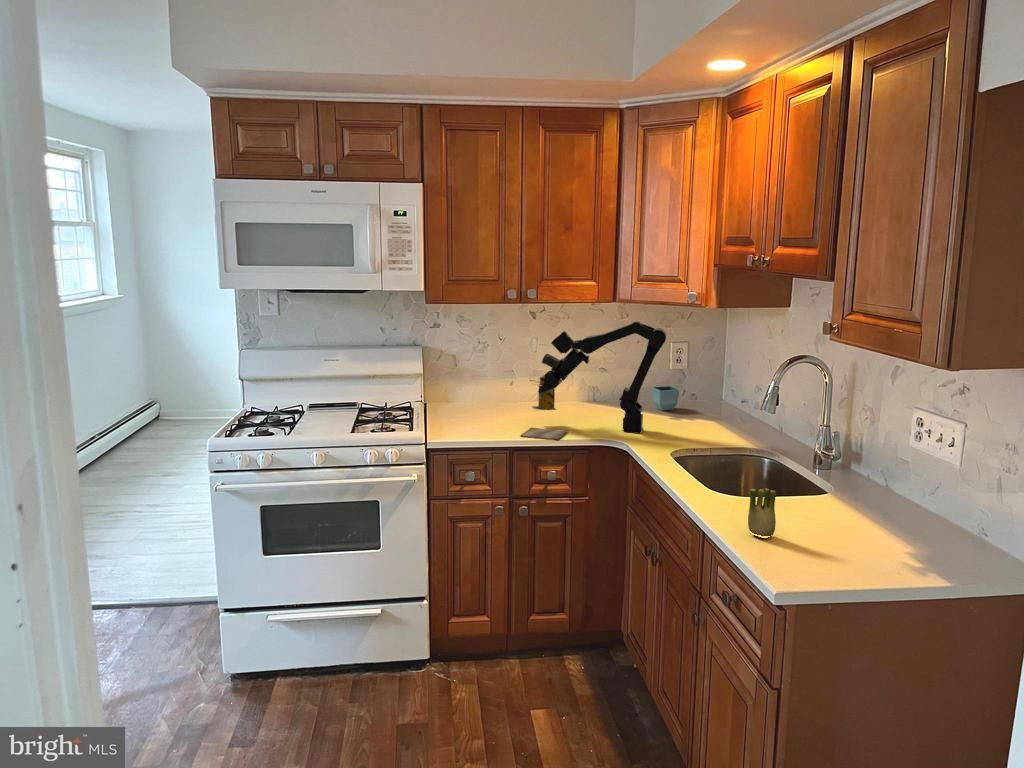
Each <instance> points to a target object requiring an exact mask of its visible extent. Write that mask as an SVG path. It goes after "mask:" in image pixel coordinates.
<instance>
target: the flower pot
mask: <svg viewBox="0 0 1024 768" xmlns="http://www.w3.org/2000/svg"><path fill="white" fill-rule="evenodd" d="M651 393H652V400H653V403H654V405H655V407H656V409H658V410H660V411H662V410H663V411H673V410H674V409H675V407H677V404H678V401H679V396H680V389H678V388H676V387H674V386H672V385H671V386H669V385H665V386H652V387H651Z"/></svg>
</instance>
